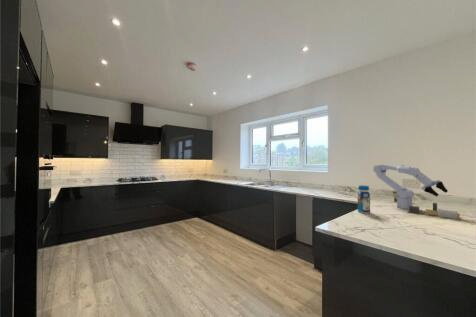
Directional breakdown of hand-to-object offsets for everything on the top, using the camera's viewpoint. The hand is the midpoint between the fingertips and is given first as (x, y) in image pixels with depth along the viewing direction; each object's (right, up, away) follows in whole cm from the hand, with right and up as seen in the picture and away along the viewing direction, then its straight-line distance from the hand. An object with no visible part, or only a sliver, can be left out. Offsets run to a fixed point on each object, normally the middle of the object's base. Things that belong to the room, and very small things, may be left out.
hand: (442, 193), depth 142 cm
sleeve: (-3, -15, -6) cm, 16 cm away
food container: (+11, -17, +51) cm, 54 cm away
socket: (-14, -15, +6) cm, 21 cm away
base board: (-8, -16, -1) cm, 18 cm away
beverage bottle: (-48, -16, +12) cm, 52 cm away
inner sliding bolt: (-5, -14, -4) cm, 15 cm away
